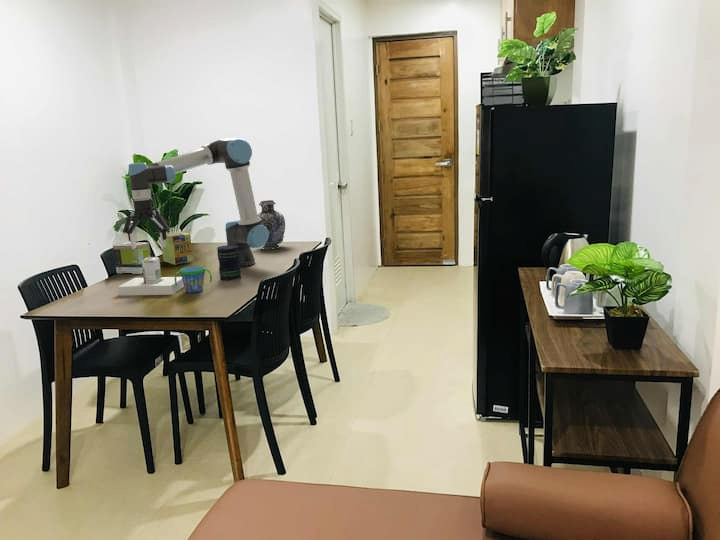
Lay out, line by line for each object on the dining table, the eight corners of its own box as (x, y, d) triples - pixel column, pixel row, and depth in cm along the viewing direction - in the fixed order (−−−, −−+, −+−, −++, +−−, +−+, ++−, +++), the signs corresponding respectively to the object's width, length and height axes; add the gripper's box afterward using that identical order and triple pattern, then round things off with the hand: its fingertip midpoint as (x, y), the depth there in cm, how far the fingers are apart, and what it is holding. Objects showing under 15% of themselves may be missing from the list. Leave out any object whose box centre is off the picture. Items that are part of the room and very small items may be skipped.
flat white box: (186, 285, 272) (185, 276, 271) (172, 294, 257) (171, 285, 256) (136, 286, 275) (134, 277, 274) (119, 295, 259) (118, 286, 258)
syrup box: (150, 288, 269) (146, 257, 266) (163, 288, 268) (159, 256, 265) (145, 292, 263) (140, 260, 260) (158, 291, 263) (153, 259, 260)
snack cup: (213, 286, 268) (210, 264, 265) (212, 292, 258) (210, 269, 255) (176, 290, 264) (174, 267, 262) (175, 296, 254) (172, 272, 252)
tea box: (153, 270, 307) (149, 242, 304) (140, 274, 298) (136, 245, 295) (129, 269, 312) (125, 241, 309) (116, 273, 303) (112, 245, 300)
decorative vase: (284, 250, 342) (280, 202, 336) (252, 252, 342) (247, 204, 336) (289, 244, 363) (285, 198, 357) (259, 245, 363) (254, 200, 357)
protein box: (175, 265, 317) (172, 236, 314) (163, 261, 329) (160, 233, 325) (193, 261, 324) (190, 233, 320) (181, 258, 335) (178, 231, 332)
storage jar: (233, 274, 289) (230, 244, 286) (245, 277, 282) (242, 246, 279) (215, 278, 282) (212, 247, 279) (227, 281, 275) (224, 249, 272)
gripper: (110, 201, 254) (117, 250, 259) (166, 199, 252) (172, 248, 257) (118, 199, 262) (125, 246, 267) (173, 197, 259) (179, 244, 264)
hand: (148, 247), depth 262 cm, fingers open, 13 cm apart
